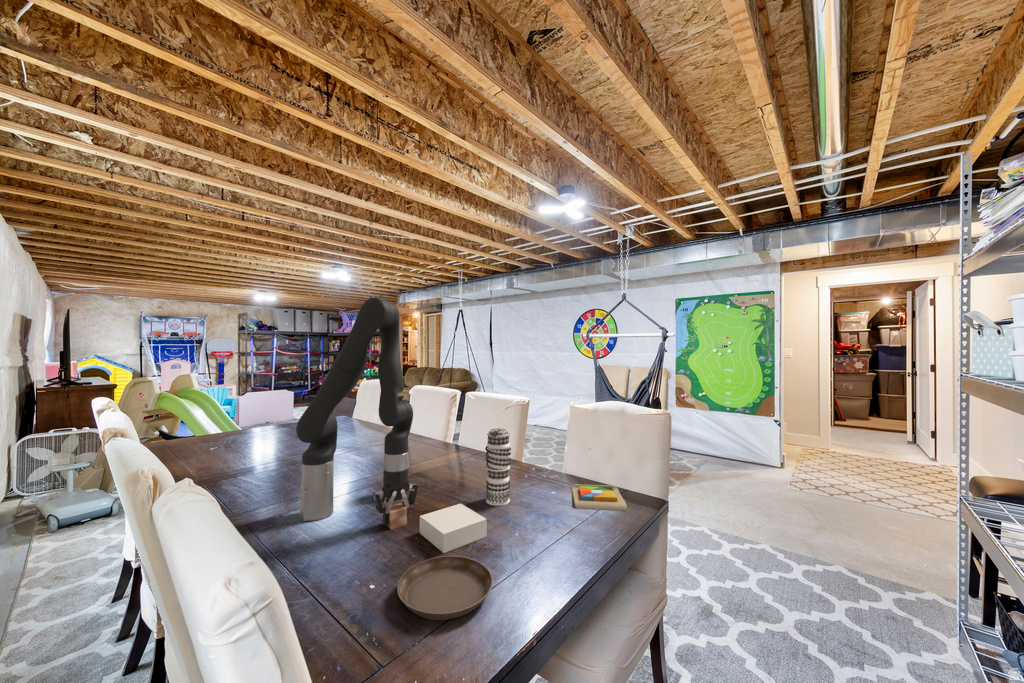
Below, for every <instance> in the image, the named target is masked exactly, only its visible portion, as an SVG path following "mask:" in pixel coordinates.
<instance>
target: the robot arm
mask: <svg viewBox="0 0 1024 683" xmlns="http://www.w3.org/2000/svg"><path fill="white" fill-rule="evenodd" d="M377 331H378V332H379V336H380V340H381V342H380V347H381V348H380V353H379V358H378V364H377V372H378V379H379V386H380V394H379V401H378V402H379V403H378V417H379V420H380V421H381V423H382V424H383V425H384V426H386V427H392V428H391V430H390V431H389V432H388V433H387V434H385V436H384V444H383V445H384V446H383V448H384V450H383V451H384V454H383V460H382V461H383V464H382V468H383V469H382V470H383V471H382V474H383V478H382V480H383V481H382V482H383V485H382V488H381V490H379V491H378V492H373V493H372V498H373V502H374V505H375V510H376V511H377V512H378V513H379V514H382V523H383V524H384V525H385V526H387V527H388V525H389V511H390V508H391V506H392V505H394V502H396V501H400V502H401V504H402V505H403V506H405V507H406V508H407V519H408V518H409V508H410V506H411V505H412V506H413V505H415V504H416V498H417V494H418V490H419V485H417V484H416V483H414V482H412V483H410V482H409V481H410V479H409V478H410V470H409V469H410V457H409V456H410V455H409V436H410V432H411V428H412V424H413V419H414V409H413V407H412V404H411V403H410V402H409V401H407V400H398V397H399V396H398V395H399V394H400V393H402V392H403V391H404V390H405V382H404V376H403V371H402V370H403V369H402V363H401V352H400V351H401V350H400V311H399V308H398V306H397V304H396V303H394V302H393V301H391V300H387V299H383V298H380V297H369V298H367V299H366V300H365V301H364V302H363V303H362V305H361V306H360V308H359V311H358V312H357V315H356V318H355V320H354V322H353V325H352V327H351V330H350V331H349V333H348V336H347V337H346V340H345V341H344V343H343V345H342V347H341V349H340V350H339V353H338V354H337V356H336V358H335V359H334V361H333V363H332V365H331V366H330V368H329V371H328V373H327V375H326V376H325V378H324V380H323V382H322V383H321V386H320V387H319V388H318V390H317V392H316V394H315V396H314V397H313V399H312V401H311V402H310V403H309V405H308V407H307V408H306V409H305V411H304V412H303V413H302V415H301V416H300V418H299V419H298V420H297V424H296V428H295V431H296V437H297V439H299V441H301V442H302V443H304V444H305V443H306V444H309V446H308V447H307V449H306V450H305V451H303V453H302V455H301V485H300V486H299V516H300V518H301V520H302V521H303V522H308V521H319V520H323V519H326V518H329V517H330V516H331V515H333V513H334V470H335V469H334V466H335V465H334V464H335V463H334V460H335V458H334V457H335V453H336V451H337V443H338V421H337V420H338V419H337V418H336V416H335V414H334V413H333V412H334V409H335V408H336V407H337V406H338V405H339V404H340V403H341V402H342V401H343V400H344V399H345V398H346V397H347V396H348V395H349V394H350V393H351V392H352V391H353V389H354V388H355V387H356V386H357V385H358V383H359V381H360V379H361V377H362V376H363V374H364V372H365V370H366V368H367V363H368V350H369V346H370V343H371V341H372V340H373V338H374V336H375V335H376V333H377ZM408 491H409V494H408V497H407V493H408ZM383 496H384V497H385V498H384V500H383V504H382V499H383Z"/></svg>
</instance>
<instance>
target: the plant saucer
mask: <svg viewBox="0 0 1024 683" xmlns="http://www.w3.org/2000/svg"><path fill="white" fill-rule="evenodd" d="M493 583H494V580H493V576H492V573H491V571H490V570H489V569H488V567H487V566H486V565H484V564H483V563H481V562H480V561H478V560H475V559H473V558H469V557H465V556H459V555H444V556H437V557H432V558H428V559H426V560H423V561H420V562H418V563H416V564H415V565H413V566H411V567H410V568H408V570H406V571H405V572H404V573H403V574H402V575H401V576H400V579H399V580H398V583H397V587H396V588H397V595H398V597H399V599H400V601H401V602H402V604H403V605H404V606H405V607H406V608H407V609H408V610H410V611H411V612H412V613H414V614H415V615H417V616H419V617H422V618H425V619H429V620H435V621H446V620H452V619H457V618H460V617H463V616H465V615H467V614H469V613H470V612H472V611H473V610H475V609H476V608H478V607H479V606H480V605H481V604H483V602H484V601H485V599H486V598H487V597H488V595H489V594H490V592H491V590H492V587H493Z"/></svg>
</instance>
